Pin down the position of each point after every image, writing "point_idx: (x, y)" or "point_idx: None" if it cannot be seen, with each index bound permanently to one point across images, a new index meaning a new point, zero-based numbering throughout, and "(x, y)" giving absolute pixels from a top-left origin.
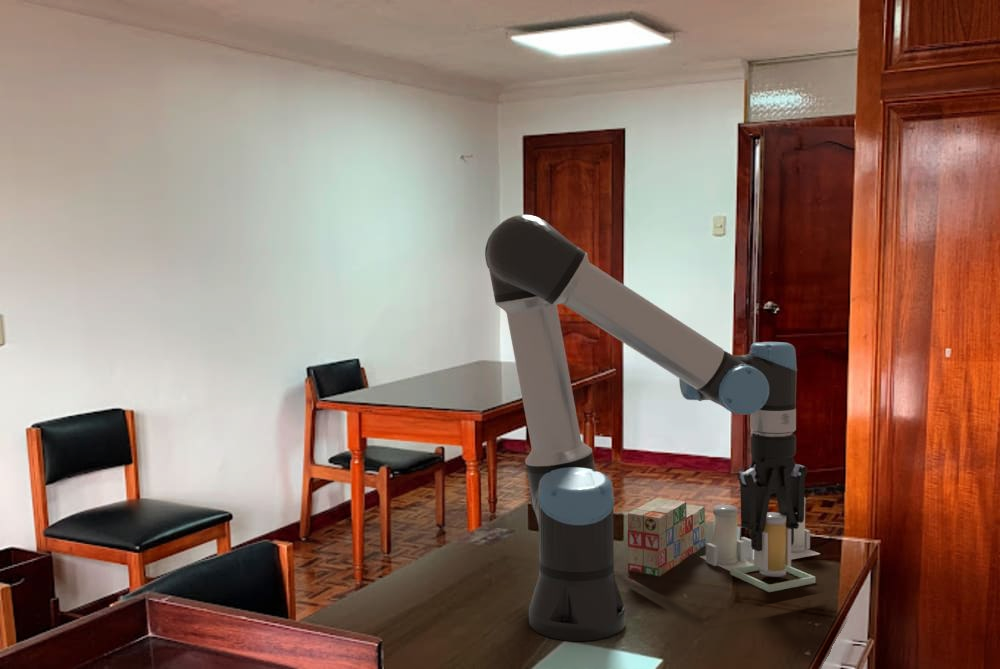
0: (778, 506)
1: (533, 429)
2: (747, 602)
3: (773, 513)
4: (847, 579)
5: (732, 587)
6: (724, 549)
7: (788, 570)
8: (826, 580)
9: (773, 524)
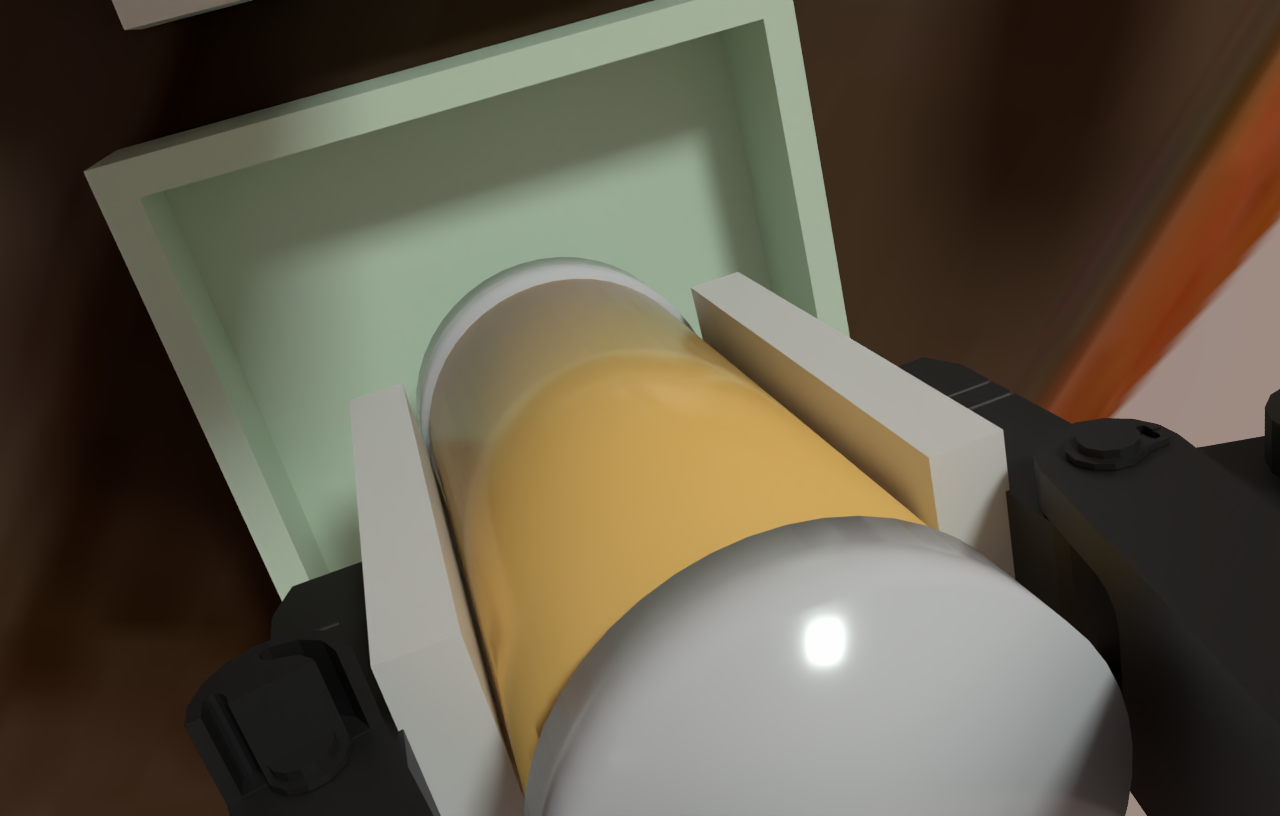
0: (1251, 709)
1: None
2: (133, 696)
3: (974, 692)
4: (1200, 261)
5: (96, 305)
6: None
7: (787, 237)
8: (1048, 257)
9: None
